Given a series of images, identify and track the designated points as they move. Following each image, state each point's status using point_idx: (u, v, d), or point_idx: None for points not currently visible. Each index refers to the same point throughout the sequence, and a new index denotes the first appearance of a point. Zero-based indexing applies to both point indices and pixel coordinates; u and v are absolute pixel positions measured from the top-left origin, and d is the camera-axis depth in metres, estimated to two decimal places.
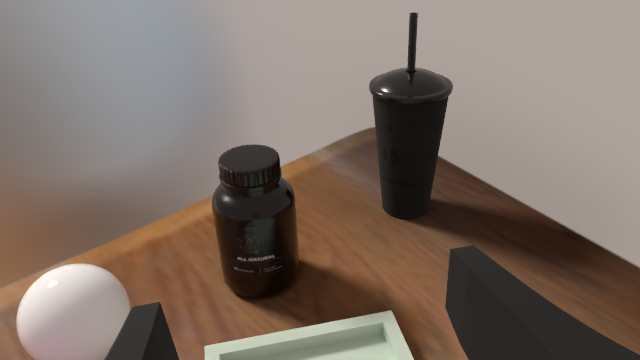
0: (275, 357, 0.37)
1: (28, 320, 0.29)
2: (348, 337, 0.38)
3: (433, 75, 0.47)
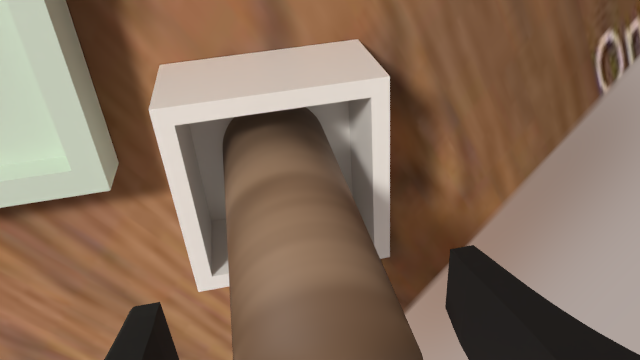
0: None
1: None
2: None
3: None
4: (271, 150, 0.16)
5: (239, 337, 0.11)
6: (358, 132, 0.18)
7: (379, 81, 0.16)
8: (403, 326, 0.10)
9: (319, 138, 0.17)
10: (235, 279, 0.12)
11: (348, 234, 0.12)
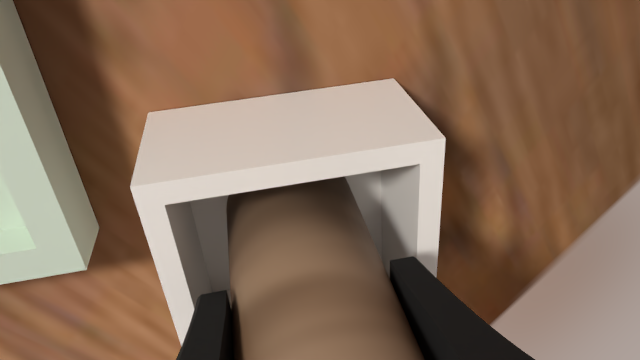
0: None
1: None
2: None
3: None
4: (290, 234, 0.12)
5: None
6: (395, 195, 0.15)
7: (431, 144, 0.12)
8: None
9: (349, 209, 0.14)
10: None
11: None
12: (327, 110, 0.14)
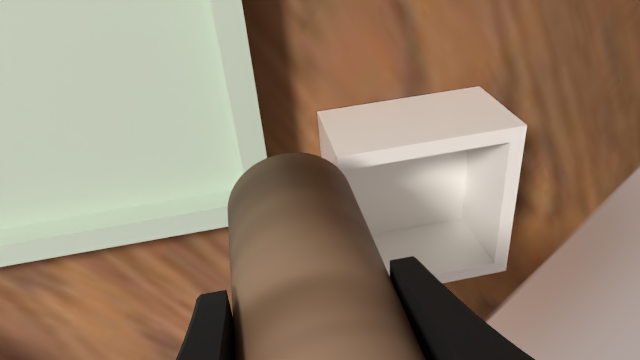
0: None
1: None
2: None
3: None
4: (290, 235, 0.12)
5: None
6: (482, 166, 0.22)
7: (518, 129, 0.19)
8: None
9: (350, 209, 0.14)
10: None
11: None
12: (441, 108, 0.21)
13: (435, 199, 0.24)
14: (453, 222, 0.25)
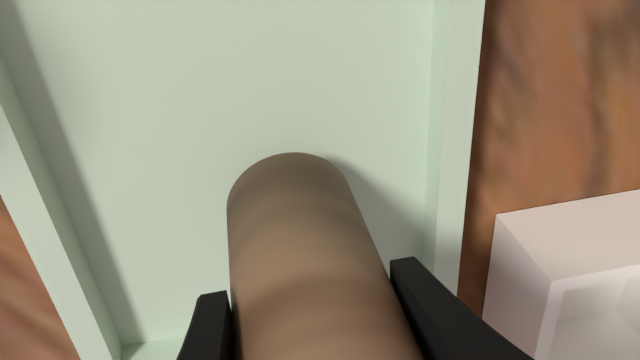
0: None
1: None
2: None
3: None
4: (287, 235, 0.12)
5: None
6: None
7: None
8: None
9: (348, 209, 0.13)
10: None
11: None
12: (631, 216, 0.20)
13: (595, 294, 0.24)
14: (608, 314, 0.24)
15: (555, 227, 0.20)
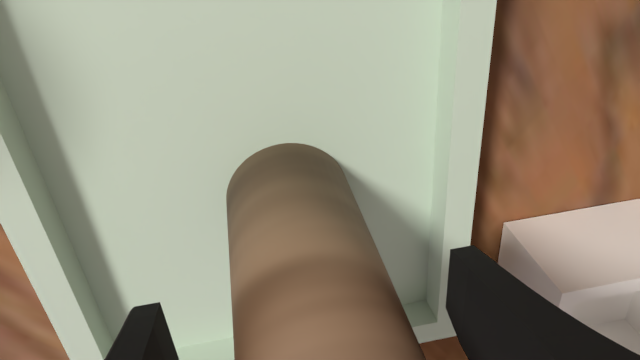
0: None
1: None
2: None
3: None
4: (285, 220, 0.12)
5: None
6: None
7: None
8: None
9: (343, 196, 0.14)
10: None
11: (394, 357, 0.09)
12: None
13: (603, 303, 0.23)
14: (617, 324, 0.24)
15: (565, 236, 0.19)
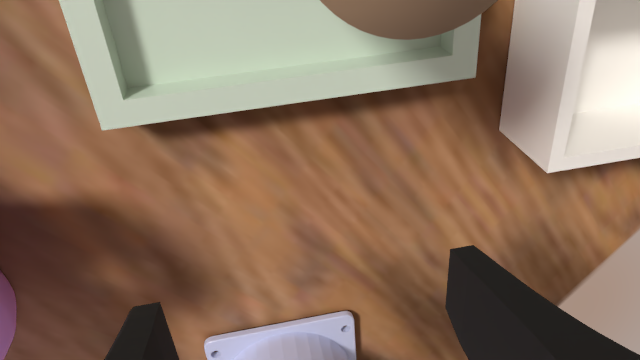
0: None
1: None
2: None
3: None
4: None
5: None
6: None
7: None
8: None
9: None
10: None
11: None
12: None
13: (620, 78, 0.23)
14: (633, 106, 0.23)
15: None
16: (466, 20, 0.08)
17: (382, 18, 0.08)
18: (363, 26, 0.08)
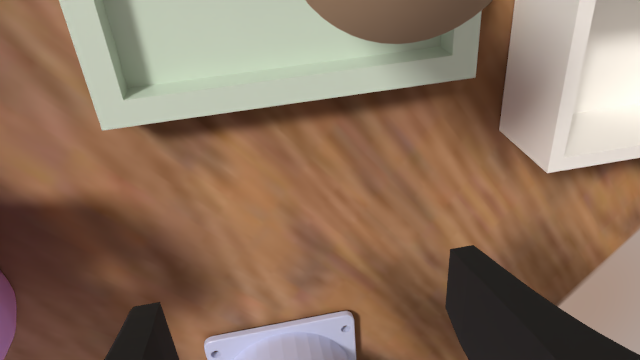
0: None
1: None
2: None
3: None
4: None
5: None
6: None
7: None
8: None
9: None
10: None
11: None
12: None
13: (620, 78, 0.23)
14: (633, 106, 0.23)
15: None
16: (455, 24, 0.08)
17: (371, 22, 0.08)
18: (352, 30, 0.08)
